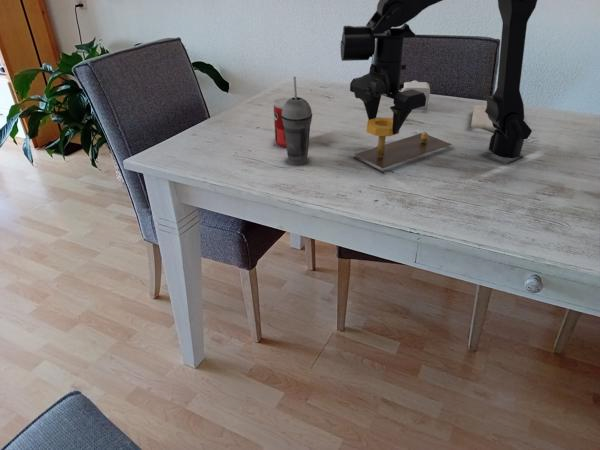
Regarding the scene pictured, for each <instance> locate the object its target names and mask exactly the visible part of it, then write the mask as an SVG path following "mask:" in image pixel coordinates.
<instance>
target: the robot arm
mask: <svg viewBox="0 0 600 450" xmlns="http://www.w3.org/2000/svg"><path fill="white" fill-rule="evenodd" d="M442 1H444V0H379V1H378V3H377V5H376V11H375V12H374V14H373V15H372V16H371V18H369V20H368V22H367V23H366V25H364V26H363V25H360V26H352V25H344V26H343V28H342V34H341V40H340V59H341V62H351V61H369V60H370V58H373V56H374V55H375V61H374V63H371V64H370V66H369V72H367V73H366V74H364V75H362V76H359V77H354V78H352V80H351V81H350V83H349V92H351V93H353V94H354V97H355V99H360V100H361V101H362V102H363V106H364V108H365V111H366V116H367V120H370V119H374V118H377V116H378V111H379V108H380V103H381V98H382V96H383V97H386V98H389V99H392V100H393V101H392V102H393V105H391V106H389V108H390V110H391V112H392V113H393V114H392V119H393V127H392V128H393V134H396V135H398V134H397V133H398V131H399V132H400V130H399V129H401V128H402V126H403V125H404V123H405V121H406V120H407V118H408V117H409V115H410V114H411V113H412V111H413V109H414V110H417V109H416V108H420V107H423V106H425V103H426V95H425V94H424V93H423V92H420V91H416V90H413V89H411V90H407V91H403V92H401V90H402V88H404V83H405V82H401V79H402V71H403V70H406V69H407V64H406V63H403V57H404V50H405V40H406V38H415V37H416V33H415V32H414V31H413V30H412V29H411V27H410V25H409V24H408V23H409V21H411V20H412V19H414V18H416V17H417V16H418V15H419V14H420V13H422V12H423V11H424V10H425V9H427V8H429V7H431V6H433V5H436V4H437V3H440V2H442ZM537 3H538V0H497V7H498V10H499V14H500V17H501V21H502V29H501V39H500V51H499V61H498V62H499V63H498V74H497V84H496V85H497V86H496V90H495V91H494V93H493V95H487V96H486V105H487V108H486V110H485V113H487V114H488V118H489V119H490V120H491V121H492V124H493V127H494V128H496V129H497V130H494V132H493V134H492V135H491V136H490V140H489V146H488V150H489V151H490V152H491V153H492V154H493V155H495V156H497V157H501V158H508V159H514V160H512V161H510V162H507V163H506V164H507V165H510V164H511V163H514V162H517V161H519V160H522V159H523V158H524V156H521V153H522V150H523V146H524V141H525V140H528V139H529V137H530V135H531V134H532V132H533V130H532V129H531V128H530V126H529V125H528V124H527V123H526V121H525V105H524V101H523V98H522V94H521V92H520V91H521V90H520V89H521V79H522V72H523V64H524V63H523V62H524V54H525V53H524V52H525V45H526V36H527V29H528V28H527V27H528V22H529V20H530V18H531V16H532V15H533V12H534V10H535V9H536V6H537ZM519 156H521V157H519ZM517 157H518V158H517ZM515 158H517V159H515Z"/></svg>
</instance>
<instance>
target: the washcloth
mask: <svg viewBox="0 0 600 450" xmlns="http://www.w3.org/2000/svg"><path fill="white" fill-rule="evenodd" d="M486 108H487V104H476V105H475V106H474V107H473V110H472V116H471V123H470V129H479V130H482V131H483V130H484V131H487V132H490V133H494V130H497V129H496V128H494V127H493V124H492V121H491V120H490V119H489V118H488V114H487V113H485V110H486Z"/></svg>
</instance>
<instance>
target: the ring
mask: <svg viewBox="0 0 600 450" xmlns="http://www.w3.org/2000/svg"><path fill="white" fill-rule="evenodd" d="M392 127H393V117H379V116H378V117H377V116H376V118H374V119H370V120H369V119H367V122H366V132H367V133H369V134H370V135H373V136H374V137H379V136H386V137H392V136H395V135H399V134H400V129H401V128H400V129H399V131H398V133H397V134H393V128H392Z"/></svg>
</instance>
